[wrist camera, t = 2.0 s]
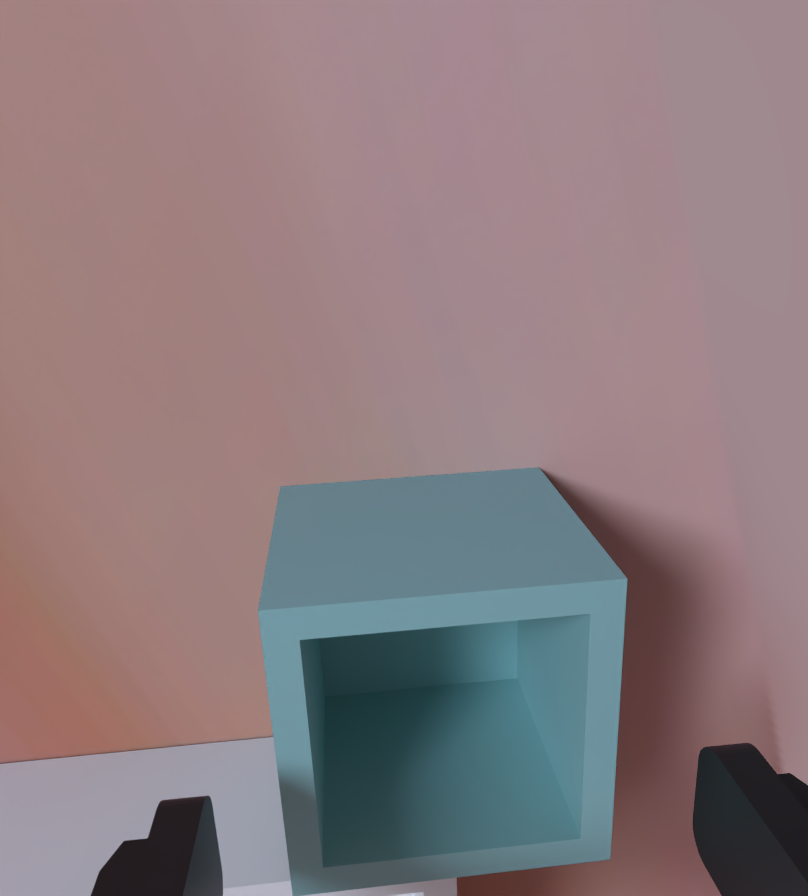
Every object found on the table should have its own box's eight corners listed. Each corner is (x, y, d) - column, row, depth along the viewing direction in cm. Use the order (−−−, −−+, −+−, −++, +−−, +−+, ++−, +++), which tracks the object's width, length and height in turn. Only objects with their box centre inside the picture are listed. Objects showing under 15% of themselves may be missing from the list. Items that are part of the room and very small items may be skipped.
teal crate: (280, 485, 17) (258, 610, 12) (537, 465, 17) (627, 578, 12) (303, 703, 19) (292, 896, 13) (534, 681, 19) (610, 859, 14)
